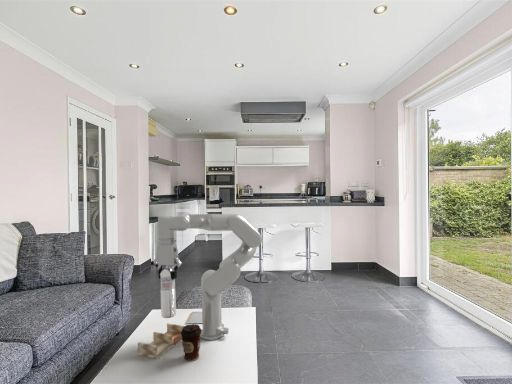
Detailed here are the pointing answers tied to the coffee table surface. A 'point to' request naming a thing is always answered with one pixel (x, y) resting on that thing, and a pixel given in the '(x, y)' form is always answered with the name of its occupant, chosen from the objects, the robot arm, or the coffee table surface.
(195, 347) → the coffee cup
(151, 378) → the coffee table surface
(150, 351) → the wooden bottle cradle
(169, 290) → the water bottle
